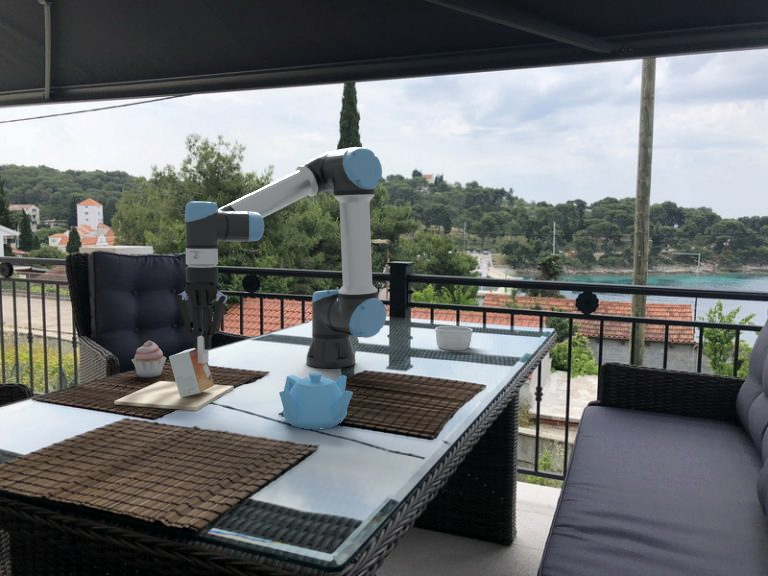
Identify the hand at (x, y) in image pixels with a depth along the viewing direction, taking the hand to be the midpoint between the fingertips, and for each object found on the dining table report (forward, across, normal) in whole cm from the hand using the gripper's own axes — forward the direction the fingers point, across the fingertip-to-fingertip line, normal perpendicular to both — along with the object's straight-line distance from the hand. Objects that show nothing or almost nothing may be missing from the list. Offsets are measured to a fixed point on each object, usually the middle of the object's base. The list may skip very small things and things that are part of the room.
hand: (203, 362), depth 155 cm
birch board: (+9, -7, 0) cm, 12 cm away
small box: (+8, -2, 0) cm, 8 cm away
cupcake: (+9, -26, +18) cm, 33 cm away
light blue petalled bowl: (+9, +32, -11) cm, 35 cm away
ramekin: (+9, +55, +82) cm, 99 cm away
